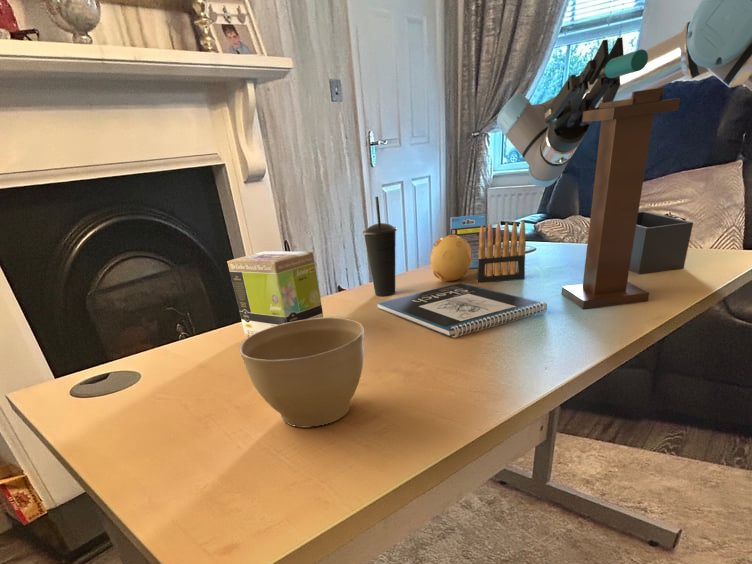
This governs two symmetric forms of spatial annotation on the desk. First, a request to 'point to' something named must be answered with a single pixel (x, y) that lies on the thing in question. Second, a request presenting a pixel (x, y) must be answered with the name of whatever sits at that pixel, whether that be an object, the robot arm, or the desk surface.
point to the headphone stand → (617, 198)
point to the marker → (624, 64)
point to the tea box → (275, 288)
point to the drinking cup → (382, 255)
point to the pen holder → (659, 243)
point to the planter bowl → (307, 368)
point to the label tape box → (469, 233)
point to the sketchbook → (461, 308)
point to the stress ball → (451, 258)
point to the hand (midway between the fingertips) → (613, 47)
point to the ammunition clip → (492, 254)
